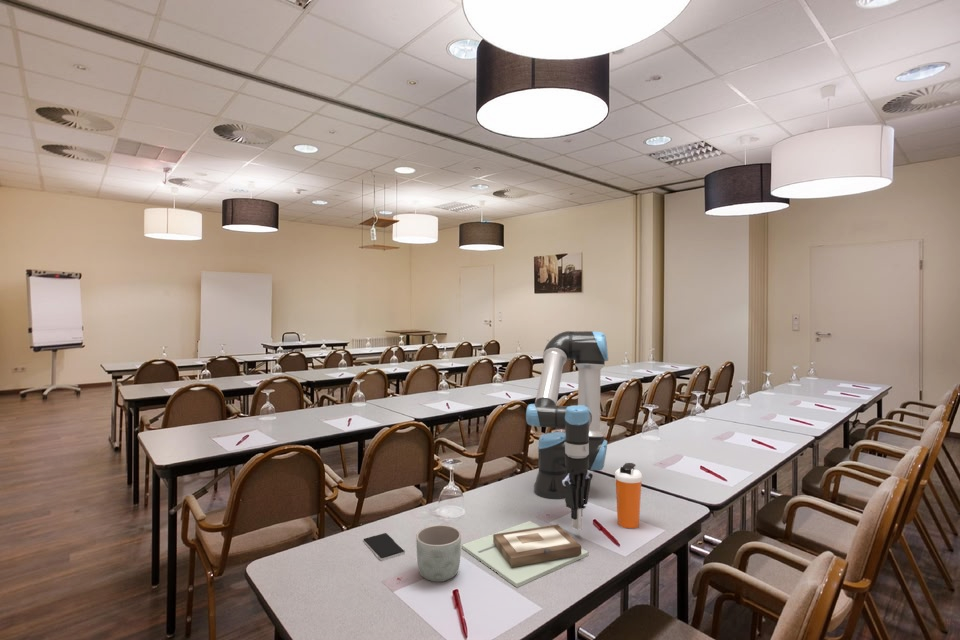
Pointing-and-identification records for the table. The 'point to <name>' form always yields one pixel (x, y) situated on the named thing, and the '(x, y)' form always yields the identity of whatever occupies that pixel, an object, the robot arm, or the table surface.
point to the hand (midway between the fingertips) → (576, 527)
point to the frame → (536, 545)
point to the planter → (438, 552)
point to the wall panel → (518, 574)
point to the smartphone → (384, 546)
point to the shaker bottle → (628, 495)
